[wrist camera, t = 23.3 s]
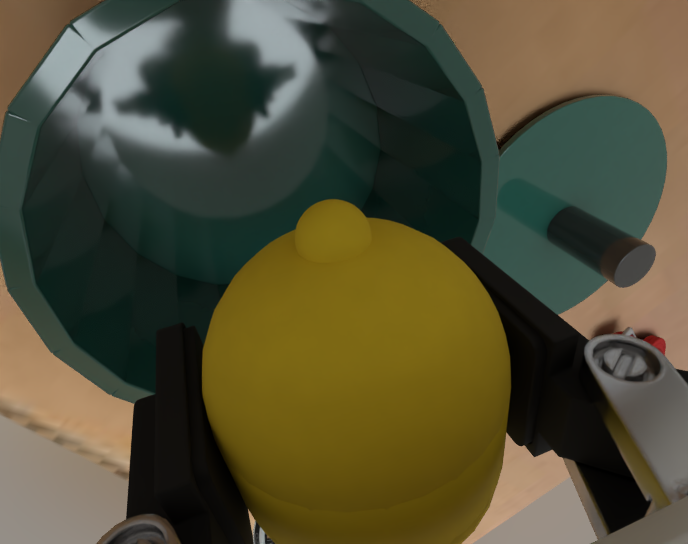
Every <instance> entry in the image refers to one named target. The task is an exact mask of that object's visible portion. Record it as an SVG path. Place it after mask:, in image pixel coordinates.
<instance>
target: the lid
mask: <svg viewBox="0 0 688 544" xmlns="http://www.w3.org/2000/svg"><path fill="white" fill-rule="evenodd" d="M499 155H500V158H499V173H498V188H497V204H496V217H495V220H494V223H493V226H492V229H491V232H490V235H489V238H488V240H487V243H486V246H485V249H484V252H483V255H484V256H485V257H487V258H488V259H489V260H490V261H491V262H493V263H494V264H495V265H496V266H498V267H499V268H500V269H501V270H503V271H504V272H505V273H506V274H507V275H509V276H510V277H511V278H512V279H514V280H515V281H516V282H517V283H519V284H520V285H521V286H522V287H524V288H525V289H526V290H527V291H528V292H530V293H531V294H532V295H533V296H535V297H536V298H537V299H538V300H540V301H541V302H542V303H543V304H545V305H546V306H547V307H548V308H549V309H551V310H552V311H553V312H554V313H556V314H557V315H558V314H561V313H563V312H565V311H566V310H568V309H570V308H572V307H574V306H575V305H577V304H578V303H580V302H582V301H583V300H585V299H586V298H587V297H589V296H590V295H591V294H593V293H594V292H595V291H596V290H598V289H599V288H600V287H601V286H602V285H603V284H604V283H606V282H607V281H608V280H609V281H610V282H612V283H613V284H615V285H616V286H618V287H622V288H625V287H629V286H631V285H633V284H635V283H637V282H638V281H639V280H641V279H642V278H643V277H644V276H645V275H646V274H647V272H648V271H649V270H650V268H651V267H652V265H653V263H654V260H655V256H656V252H655V249H654V247H653V246H652V245H650V244H648V243H646V242H644V241H642V240H641V239H642V237H643V236H644V234H645V232H646V230H647V228H648V227H649V225H650V223H651V221H652V219H653V216H654V214H655V212H656V210H657V207H658V204H659V201H660V198H661V195H662V192H663V187H664V183H665V178H666V170H667V150H666V143H665V139H664V136H663V132H662V129H661V127H660V126H659V124H658V122H657V120H656V119H655V117H654V116H653V115H652V114H651V113H650V112H649V110H647V109H646V108H645V107H643V106H642V105H641V104H639V103H637V102H635V101H633V100H630V99H628V98H624V97H619V96H614V95H590V96H585V97H579V98H576V99H573V100H570V101H567V102H564V103H562V104H560V105H558V106H556V107H554V108H552V109H550V110H547V111H546V112H544V113H543V114H541V115H540V116H538V117H536V118H535V119H533V120H532V121H530V122H529V123H528V124H527V125H525V126H524V127H523V128H522V129H520V130H519V131H518V132H517V133H515V134H514V135H513V136H512V137H511V138H510V139H509V140H508V141H507V142H506V143H505V144H504V145H503V146H502V147H501V148H500V150H499Z"/></svg>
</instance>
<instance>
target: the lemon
mask: <svg viewBox="0 0 688 544" xmlns="http://www.w3.org/2000/svg"><path fill="white" fill-rule="evenodd" d="M510 393H511V367H510V354H509V349H508V344H507V339H506V334H505V331H504V328H503V325H502V322H501V319H500V316H499V313H498V311H497V309H496V307H495V305H494V303H493V301H492V299H491V297H490V295H489V294H488V292H487V291H486V289H485V288H484V286H483V285H482V283H481V282H480V281H479V279H478V278H477V276H476V275H475V274H474V273H473V271H472V270H471V269H470V268H469V267H468V266H467V265H466V264H465V263H464V261H462V260H461V259H460V258H459V257H458V256H456V255H455V254H454V253H453V252H452V251H450V250H449V249H448V248H447V247H446V246H444V245H443V244H441V243H440V242H438V241H437V240H436V239H434V238H432V237H430V236H428V235H426V234H424V233H421V232H419V231H417V230H415V229H412V228H410V227H408V226H406V225H403V224H400V223H397V222H393V221H390V220H384V219H378V218H366V217H365V215H364V214H363V213H362V212H361V211H360V210H359V209H358V208H357V207H356V206H354V205H353V204H351V203H349V202H346V201H343V200H338V199H328V200H323V201H320V202H318V203H316V204H314V205H312V206H311V207H309V208H308V209H307V210H306V211H305V212H304V213H303V215H302V216H301V217H300V219H299V221H298V223H297V226H296V229H295V230H293V231H291V232H289V233H286V234H284V235H282V236H280V237H279V238H277V239H275V240H274V241H272V242H270V243H269V244H268V245H267V246H265V247H264V248H263V249H262V250H260V251H259V252H258V253H257V254H256V255H255V256H254V257H253V258H251V259H250V260H249V261H248V262H247V263H246V264H245V265H244V266H243V267H242V268H241V269H240V271H239V272H238V273H237V274H236V275H235V276H234V278H233V279H232V281H231V283H230V284H229V286H228V288H227V289H226V291H225V293H224V294H223V296H222V298H221V299H220V301H219V303H218V305H217V306H216V308H215V310H214V313H213V316H212V319H211V322H210V325H209V329H208V333H207V336H206V340H205V344H204V347H203V356H202V396H203V400H204V404H205V408H206V412H207V416H208V420H209V423H210V426H211V430H212V433H213V436H214V439H215V441H216V444H217V446H218V448H219V450H220V452H221V455H222V457H223V459H224V461H225V463H226V465H227V467H228V469H229V471H230V473H231V475H232V477H233V479H234V481H235V483H236V485H237V488H238V490H239V492H240V494H241V496H242V498H243V500H244V502H245V504H246V506H247V508H248V509H249V511H250V512H251V514H252V516H253V517H254V519H255V520H256V522H257V523H258V524H259V526H260V527H261V528H262V530H263V531H264V532H265V533H266V535H267V536H268V537H269V538H270V539H271V540H272V541H273V542H274V543H275V544H461V543H462V542H463V541H464V540H465V539H466V538H467V537H468V536H469V535H470V534H471V533H472V532H474V530H475V529H476V527H477V526H478V524H479V522H480V521H481V519H482V518H483V516H484V515H485V513H486V511H487V510H488V508H489V506H490V503H491V500H492V497H493V494H494V491H495V488H496V486H497V483H498V480H499V476H500V473H501V469H502V464H503V456H504V448H505V439H506V430H507V421H508V411H509V402H510Z"/></svg>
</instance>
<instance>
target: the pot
mask: <svg viewBox="0 0 688 544" xmlns="http://www.w3.org/2000/svg"><path fill="white" fill-rule="evenodd" d="M7 109H8V110H7V111H6V112H5V117H4V122H3V127H2V132H1V137H0V262H1V266H2V270H3V275H4V279H5V284H6V287H7V288H8V289H7V290H8V292H9V293H10V295H11V296H12V298H13V299H14V301H15V302H16V303H17V305H18V306H19V308H20V309H21V311H22V312H23V313H24V315H25V316H26V318H27V319H28V321H29V322H30V323H31V325H32V326H33V328H34V329H35V331H36V332H37V333H38V335H39V336H40V338H41V339H42V341H43V342H44V343H45V345H46V346H47V348H48V349H49V351H50V352H51V353H53V354H54V355H55V356H56V357H58V358H59V359H60V360H62V361H63V362H64V363H66V364H67V365H69V366H70V367H71V368H73V369H74V370H76V371H77V372H78V373H80V374H81V375H83V376H84V377H85V378H87V379H88V380H90V381H91V382H92V383H94V384H95V385H96V386H98V387H99V388H101V389H102V390H103V391H105V392H106V393H108V394H109V395H112V396H113V397H116V398H119V399H122V400H125V401H128V402H131V403H134V404H135V402H136V401H137V400H138V399H141V398H144V397H147V396H150V395H153V394H155V390H156V333H157V330H159V329H162V328H166V327H169V326H172V325H175V324H179V323H182V322H183V323H184V324H185V326H186V328H188V327H191V326H195V327H196V329H197V331H198V334H199V336H200V338H201V341H202V343H203V345H204V344H205V340H206V336H207V333H208V329H209V325H210V322H211V319H212V316H213V313H214V310H215V308H216V306H217V305H218V303H219V301H220V299H221V298H222V296H223V294H224V293H225V291H226V289H227V288H228V286H229V284H230V283H231V281H232V279H233V278H234V276H235V275H236V274H237V273H238V272H239V271H240V269H241V268H242V267H243V266H244V265H245V264H246V263H247V262H248V261H249V260H250V259H251V258H253V257H254V256H255V255H256V254H257V253H258V252H259V251H260V250H262V249H263V248H264V247H265V246H267V245H268V244H269V243H270V242H272V241H274V240H275V239H277V238H279V237H280V236H282V235H284V234H286V233H289V232H291V231H293V230H295V229H296V226H297V223H298V221H299V219H300V217H301V216H302V215H303V213H304V212H305V211H306V210H307V209H308V208H309V207H311V206H312V205H314V204H316V203H318V202H320V201H323V200H328V199H338V200H343V201H346V202H349V203H351V204H353V205H354V206H356V207H357V208H358V209H359V210H360V211H361V212H362V213H363V214H364V215H365V217H366V218H378V219H384V220H390V221H393V222H397V223H400V224H403V225H406V226H408V227H410V228H412V229H415V230H417V231H419V232H421V233H424V234H426V235H428V236H430V237H432V238H434V239H436V240H437V241H438V242H443V241H446V240H449V239H452V238H456V237H461V238H463V239H464V240H466V241H467V242H468V243H469V244H470V245H472V246H473V247H474V248H475V249H477V250H478V251H479V252H480V253H482V254H483V252H484V249H485V246H486V243H487V240H488V238H489V235H490V232H491V229H492V226H493V223H494V220H495V217H496V204H497V188H498V173H499V158H500V155H499V150H498V146H497V142H496V138H495V134H494V130H493V126H492V122H491V118H490V114H489V110H488V106H487V101H486V97H485V93H484V89H483V88H482V85H481V83H480V82H479V80H478V79H477V77H476V76H475V74H474V73H473V71H472V70H471V68H470V67H469V65H468V64H467V62H466V61H465V59H464V58H463V56H462V55H461V53H460V52H459V50H458V49H457V47H456V46H455V44H454V43H453V41H452V40H451V38H450V37H449V35H448V34H447V32H446V31H445V29H444V28H443V26H442V25H441V24H439V21H438V20H436V19H435V18H434V17H432V16H431V15H429V14H428V13H427V12H425V11H424V10H422V9H421V8H420V7H418V6H417V5H415V4H414V3H413V2H411V1H410V0H104V1H102V2H100V3H99V4H97V5H95V6H94V7H92V8H90V9H89V10H87V11H85V12H84V13H82V14H81V15H79V16H77V17H76V18H74V19H72V20H71V21H70V23H69V24H67V25H65V27H64V28H63V30H62V31H61V32H60V34H59V35H58V37H57V38H56V39H55V41H54V42H53V44H52V45H51V46H50V48H49V49H48V51H47V52H46V53H45V55H44V56H43V58H42V59H41V61H40V62H39V63H38V65H37V66H36V68H35V69H34V70H33V72H32V73H31V75H30V76H29V77H28V79H27V80H26V82H25V83H24V84H23V86H22V87H21V89H20V90H19V91H18V93H17V94H16V96H15V97H14V98H13V100H12V101H11V103H10V104H9V105H8V108H7Z"/></svg>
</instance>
